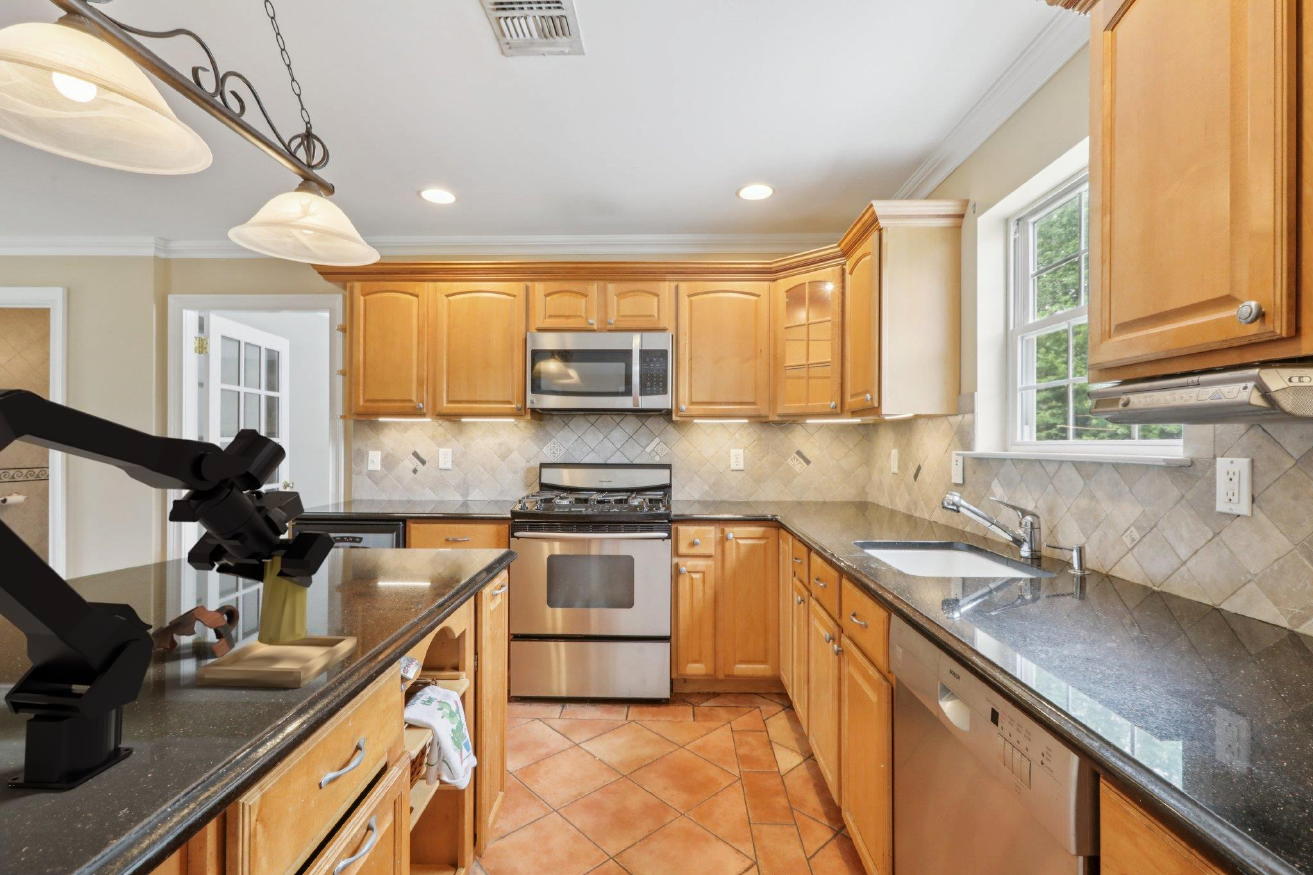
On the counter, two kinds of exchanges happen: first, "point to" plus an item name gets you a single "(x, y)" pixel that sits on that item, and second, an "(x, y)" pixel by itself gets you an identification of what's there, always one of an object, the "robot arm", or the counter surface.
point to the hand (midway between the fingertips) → (292, 583)
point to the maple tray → (277, 662)
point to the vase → (281, 607)
